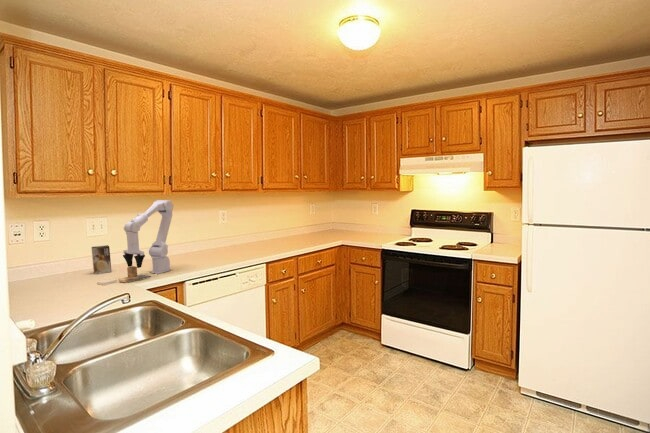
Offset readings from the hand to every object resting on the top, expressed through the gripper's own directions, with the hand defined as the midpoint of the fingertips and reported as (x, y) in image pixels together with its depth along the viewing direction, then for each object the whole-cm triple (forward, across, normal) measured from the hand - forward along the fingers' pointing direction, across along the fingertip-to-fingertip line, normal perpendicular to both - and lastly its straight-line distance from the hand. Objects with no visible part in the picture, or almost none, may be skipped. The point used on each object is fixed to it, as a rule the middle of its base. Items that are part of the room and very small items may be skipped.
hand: (134, 266), depth 208 cm
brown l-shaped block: (+6, 0, -4) cm, 8 cm away
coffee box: (+7, -33, +3) cm, 34 cm away
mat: (+7, 0, 0) cm, 7 cm away
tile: (+6, -6, -9) cm, 13 cm away
